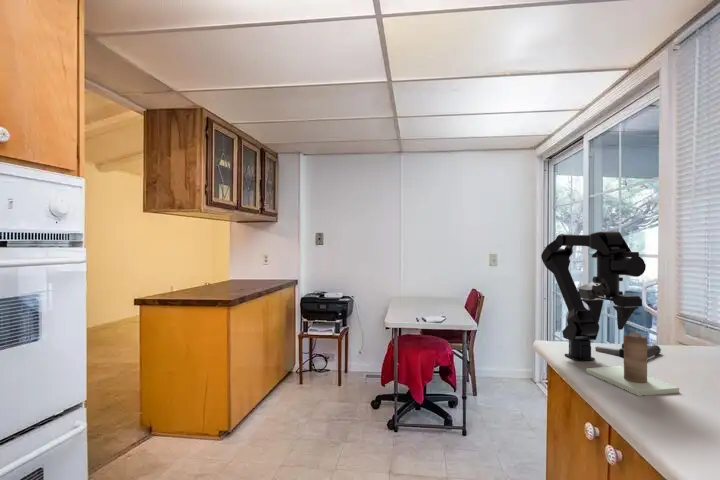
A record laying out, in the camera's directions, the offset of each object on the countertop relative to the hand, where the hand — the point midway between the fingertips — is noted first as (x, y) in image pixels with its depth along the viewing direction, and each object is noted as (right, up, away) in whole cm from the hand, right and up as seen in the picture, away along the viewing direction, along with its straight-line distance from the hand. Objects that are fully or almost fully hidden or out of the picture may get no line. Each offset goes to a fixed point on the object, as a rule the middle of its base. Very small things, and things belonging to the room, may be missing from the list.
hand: (607, 326), depth 122 cm
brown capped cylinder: (0, -12, -12) cm, 17 cm away
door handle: (+16, -14, +16) cm, 27 cm away
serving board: (0, -13, -10) cm, 17 cm away
